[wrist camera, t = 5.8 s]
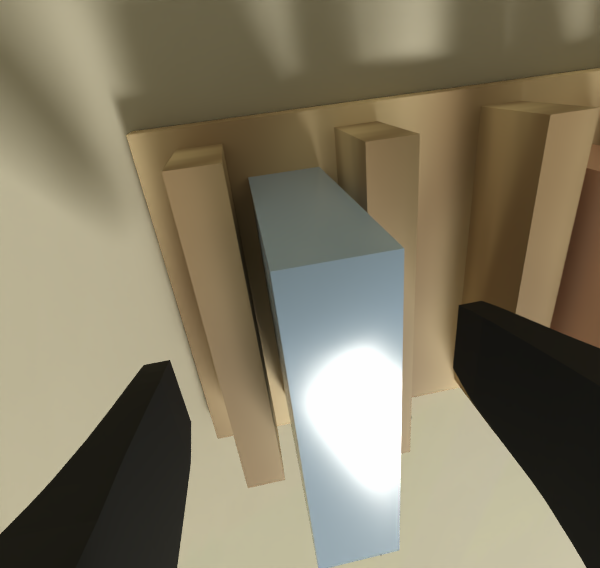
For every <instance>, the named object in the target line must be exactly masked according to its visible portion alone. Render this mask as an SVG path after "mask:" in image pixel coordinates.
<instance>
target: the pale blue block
mask: <svg viewBox="0 0 600 568" xmlns="http://www.w3.org/2000/svg"><path fill="white" fill-rule="evenodd" d="M248 181H249V186H250V192H251V198H252V204H253V210H254V216H255V221H256V227H257V233H258V239H259V245H260V251H261V256H262V262H263V268H264V274H265V280H266V286H267V291H268V297H269V303H270V309H271V315H272V321H273V326H274V332H275V338H276V344H277V350H278V356H279V361H280V367H281V373H282V379H283V385H284V391H285V396H286V401H287V407H288V412H289V417H290V422H291V427H292V433H293V438H294V443H295V448H296V454H297V459H298V464H299V469H300V474H301V480H302V485H303V490H304V495H305V501H306V506H307V511H308V516H309V521H310V527H311V532H312V537H313V542H314V548H315V553H316V558H317V563H318V568H330V567H334V566H338V565H342V564H346V563H350V562H354V561H358V560H362V559H366V558H370V557H374V556H378V555H382V554H386V553H390V552H394V551H398V550H399V540H400V480H401V421H402V361H403V302H404V248H403V247H402V246H401V245H400V244H399V243H398V242H397V241H396V240H395V239H394V238H393V237H392V236H391V235H390V234H389V233H388V232H387V231H386V230H385V229H384V228H383V227H382V226H381V225H380V224H378V223H377V222H376V221H375V220H374V219H373V218H372V217H371V216H370V215H369V214H368V213H367V212H366V211H365V210H364V209H363V208H362V207H361V206H360V205H359V204H358V203H357V202H356V201H355V200H353V199H352V198H351V197H350V196H349V195H348V194H347V193H346V192H345V191H344V190H343V189H342V188H341V187H340V186H339V185H338V184H337V183H336V182H335V181H334V180H333V179H332V178H331V177H330V176H328V175H327V174H326V173H325V172H324V171H323V170H322V169H321V168H320V167H314V168H307V169H300V170H294V171H287V172H280V173H274V174H267V175H261V176H254V177H248Z"/></svg>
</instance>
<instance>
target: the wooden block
mask: <svg viewBox="0 0 600 568" xmlns="http://www.w3.org/2000/svg"><path fill="white" fill-rule="evenodd" d="M550 328H551V329H553V330H556V331H558V332H560V333H563V334H565V335H568V336H570V337H573V338H575V339H577V340H580V341H583V342H585V343H588V344H590V345H593V346H595V347H598V348H600V146H599V145H594V144H592V147H591V151H590V155H589V160H588V164H587V168H586V173H585V177H584V181H583V186H582V190H581V194H580V199H579V203H578V207H577V212H576V216H575V220H574V225H573V229H572V233H571V238H570V242H569V246H568V251H567V255H566V260H565V264H564V268H563V273H562V277H561V281H560V286H559V290H558V294H557V299H556V303H555V307H554V312H553V316H552V320H551V325H550Z"/></svg>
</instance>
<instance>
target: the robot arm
mask: <svg viewBox="0 0 600 568" xmlns="http://www.w3.org/2000/svg"><path fill="white" fill-rule="evenodd" d="M453 369H454V371H455V373H456V375H457V377H458V378H459V380H460V382H461V384H462V386H463V387H464V389H465V391H466V393H467V394H468V396H469V398H470V399H471V401H472V403H473V404H474V405H475V407H476V408H477V409H478V411H479V412H480V414H481V415H482V416H483V418H484V419H485V420H486V422H487V423H488V424H489V426H490V427H491V428H492V430H493V431H494V432H495V433H496V435H497V436H498V437H499V439H500V440H501V441H502V443H503V444H504V445H505V447H506V448H507V449H508V451H509V452H510V453H511V454H512V456H513V457H514V458H515V460H516V461H517V462H518V464H519V465H520V466H521V468H522V469H523V470H524V471H525V473H526V474H527V475H528V477H529V478H530V479H531V481H532V482H533V484H534V485H535V486H536V488H537V489H538V491H539V492H540V493H541V495H542V496H543V498H544V499H545V501H546V502H547V504H548V505H549V507H550V509H551V510H552V512H553V513H554V515H555V517H556V518H557V520H558V521H559V523H560V525H561V526H562V528H563V529H564V531H565V533H566V534H567V536H568V537H569V539H570V541H571V542H572V544H573V545H574V547H575V549H576V551H577V552H578V554H579V556H580V557H581V559H582V561H583V562H584V564H585V566H586V567H587V568H600V348H598V347H595V346H593V345H590V344H588V343H585V342H583V341H580V340H577V339H575V338H573V337H570V336H568V335H565V334H563V333H560V332H558V331H556V330H553V329H551V328H548V327H546V326H544V325H541V324H539V323H537V322H534V321H532V320H529V319H527V318H525V317H522V316H520V315H518V314H515V313H513V312H510V311H508V310H506V309H503V308H501V307H498V306H495V305H493V304H490V303H487V302H484V301H477V302H472V303H467V304H462V305H459V308H458V319H457V330H456V340H455V351H454V361H453ZM190 464H191V421H190V418H189V415H188V412H187V409H186V406H185V403H184V400H183V397H182V394H181V391H180V388H179V385H178V382H177V379H176V376H175V374H174V371H173V368H172V365H171V362H170V360H168V361H163V362H158V363H153V364H147V365H144V366H143V367H142V368H141V369H140V371H139V372H138V373H137V375H136V376H135V377H134V378H133V380H132V381H131V382H130V384H129V385H128V386H127V388H126V389H125V390H124V392H123V393H122V394H121V396H120V397H119V398H118V400H117V401H116V402H115V404H114V405H113V406H112V408H111V409H110V410H109V412H108V413H107V414H106V416H105V417H104V418H103V419H102V421H101V422H100V423H99V424H98V426H97V427H96V428H95V430H94V431H93V432H92V433H91V435H90V436H89V437H88V439H87V440H86V441H85V442H84V443H83V444H82V446H81V447H80V448H79V449H78V450H77V451H76V453H75V454H74V455H73V456H72V457H71V459H70V460H69V461H68V462H67V463H66V464H65V466H64V467H63V468H62V469H61V470H60V472H59V473H58V474H57V475H56V476H55V477H54V479H53V480H52V481H51V482H50V483H49V484H48V485H47V486H46V487H45V488H44V490H43V491H42V492H41V493H40V494H39V495H38V496H37V497H36V498H35V499H34V500H33V501H32V502H31V503H30V505H29V506H28V507H27V508H26V509H25V510H24V511H23V512H22V513H21V514H20V515H19V516H18V517H17V518H16V519H15V520H14V521H13V522H12V523H11V524H10V525H9V526H8V527H7V528H6V529H5V530H4V531H3V532H2V533H1V534H0V568H177V564H178V557H179V549H180V541H181V534H182V526H183V519H184V511H185V504H186V496H187V488H188V481H189V473H190Z"/></svg>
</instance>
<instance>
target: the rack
mask: <svg viewBox="0 0 600 568" xmlns="http://www.w3.org/2000/svg"><path fill="white" fill-rule="evenodd" d="M126 136H127V140H128V143H129V146H130V150H131V153H132V156H133V160H134V163H135V166H136V169H137V173H138V176H139V179H140V183H141V186H142V189H143V193H144V196H145V199H146V203H147V206H148V209H149V213H150V216H151V219H152V222H153V226H154V229H155V232H156V236H157V239H158V242H159V246H160V249H161V252H162V256H163V259H164V262H165V265H166V269H167V272H168V275H169V279H170V282H171V285H172V289H173V292H174V295H175V299H176V302H177V305H178V309H179V312H180V315H181V318H182V322H183V325H184V328H185V332H186V335H187V338H188V342H189V345H190V348H191V352H192V355H193V358H194V361H195V365H196V368H197V371H198V375H199V378H200V381H201V385H202V388H203V391H204V395H205V398H206V401H207V405H208V408H209V411H210V414H211V418H212V421H213V424H214V428H215V431H216V434H217V438H218V439H219V438H223V437H228V436H233V435H234V439H235V442H236V446H237V450H238V453H239V457H240V461H241V464H242V468H243V472H244V475H245V479H246V483H247V486H248V488H250V487H255V486H259V485H264V484H268V483H273V482H277V481H282V480H285V476H284V469H283V463H282V456H281V449H280V443H279V436H278V430H277V426H280V425H285V424H290V423H291V422H290V417H289V412H288V407H287V401H286V396H285V391H284V385H283V379H282V373H281V367H280V361H279V356H278V350H277V344H276V338H275V332H274V326H273V321H272V315H271V309H270V303H269V297H268V291H267V286H266V280H265V274H264V268H263V262H262V256H261V251H260V245H259V239H258V233H257V227H256V221H255V216H254V210H253V204H252V198H251V192H250V186H249V181H248V177H254V176H261V175H267V174H274V173H280V172H287V171H294V170H300V169H307V168H314V167H320V168H321V169H322V170H323V171H324V172H325V173H326V174H327V175H328V176H330V177H331V178H332V179H333V180H334V181H335V182H336V183H337V184H338V185H339V186H340V187H341V188H342V189H343V190H344V191H345V192H346V193H347V194H348V195H349V196H350V197H351V198H352V199H353V200H355V201H356V202H357V203H358V204H359V205H360V206H361V207H362V208H363V209H364V210H365V211H366V212H367V213H368V214H369V215H370V216H371V217H372V218H373V219H374V220H375V221H376V222H377V223H378V224H380V225H381V226H382V227H383V228H384V229H385V230H386V231H387V232H388V233H389V234H390V235H391V236H392V237H393V238H394V239H395V240H396V241H397V242H398V243H399V244H400V245H401V246H402V247H403V248H404V302H403V361H402V421H401V453H406V452H410V432H411V401H412V397H417V396H422V395H426V394H431V393H436V392H441V391H445V390H450V389H455V388H459V387H460V388H461V389H462V390H463V392H464V393H465V394H466V396H467V397H468V398H469V396H468V394H467V393H466V391H465V389H464V387H463V386H462V384H461V382H460V380H459V378H458V377H457V375H456V373H455V371H454V369H453V361H454V351H455V340H456V330H457V319H458V308H459V305H462V304H467V303H472V302H477V301H484V302H487V303H490V304H493V305H495V306H498V307H501V308H503V309H506V310H508V311H510V312H513V313H515V314H518V315H520V316H522V317H525V318H527V319H529V320H532V321H534V322H537V323H539V324H541V325H544V326H546V327H548V328H550V325H551V320H552V316H553V312H554V307H555V303H556V299H557V294H558V290H559V286H560V281H561V277H562V273H563V268H564V264H565V260H566V255H567V251H568V246H569V242H570V238H571V233H572V229H573V225H574V220H575V216H576V212H577V207H578V203H579V199H580V194H581V190H582V186H583V181H584V177H585V173H586V168H587V164H588V160H589V155H590V151H591V147H592V144H594V145H599V146H600V68H594V69H587V70H580V71H572V72H565V73H558V74H550V75H543V76H536V77H528V78H521V79H514V80H506V81H499V82H492V83H484V84H477V85H469V86H462V87H455V88H447V89H440V90H433V91H425V92H418V93H411V94H403V95H396V96H389V97H381V98H374V99H367V100H359V101H352V102H344V103H337V104H330V105H322V106H315V107H308V108H300V109H293V110H286V111H278V112H271V113H264V114H256V115H249V116H242V117H234V118H227V119H220V120H212V121H205V122H197V123H190V124H183V125H175V126H168V127H161V128H153V129H146V130H139V131H132V132H131V133H129V134H127V135H126ZM469 399H470V398H469ZM470 401H471V399H470ZM471 402H472V401H471ZM473 405H474V404H473ZM474 406H475V405H474ZM476 409H477V408H476ZM477 410H478V409H477ZM479 413H480V412H479ZM482 417H483V416H482ZM485 421H486V420H485ZM488 425H489V424H488ZM491 429H492V428H491ZM494 433H495V432H494Z"/></svg>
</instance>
